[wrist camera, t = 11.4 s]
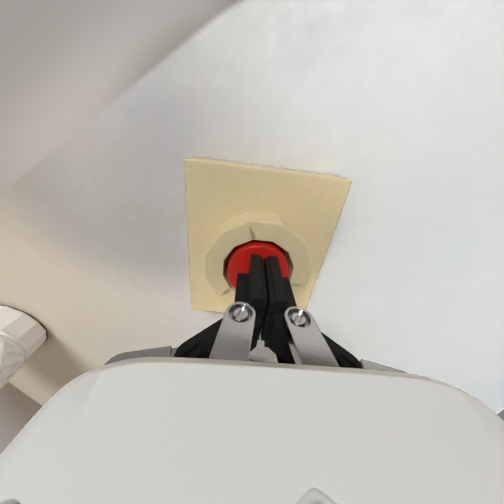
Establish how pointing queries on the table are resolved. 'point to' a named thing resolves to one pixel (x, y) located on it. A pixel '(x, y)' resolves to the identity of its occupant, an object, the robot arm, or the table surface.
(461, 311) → the table surface
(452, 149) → the table surface
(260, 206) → the beige button base
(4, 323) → the white cup
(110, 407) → the robot arm
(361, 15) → the table surface
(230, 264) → the red button
